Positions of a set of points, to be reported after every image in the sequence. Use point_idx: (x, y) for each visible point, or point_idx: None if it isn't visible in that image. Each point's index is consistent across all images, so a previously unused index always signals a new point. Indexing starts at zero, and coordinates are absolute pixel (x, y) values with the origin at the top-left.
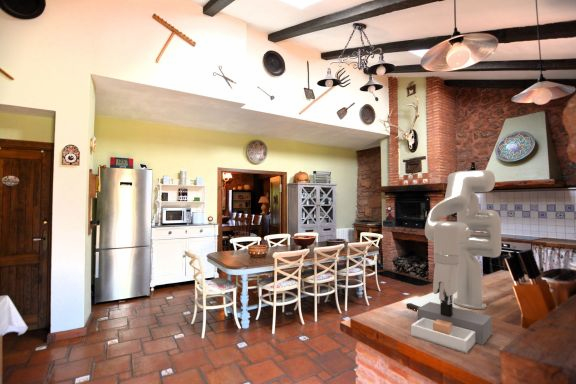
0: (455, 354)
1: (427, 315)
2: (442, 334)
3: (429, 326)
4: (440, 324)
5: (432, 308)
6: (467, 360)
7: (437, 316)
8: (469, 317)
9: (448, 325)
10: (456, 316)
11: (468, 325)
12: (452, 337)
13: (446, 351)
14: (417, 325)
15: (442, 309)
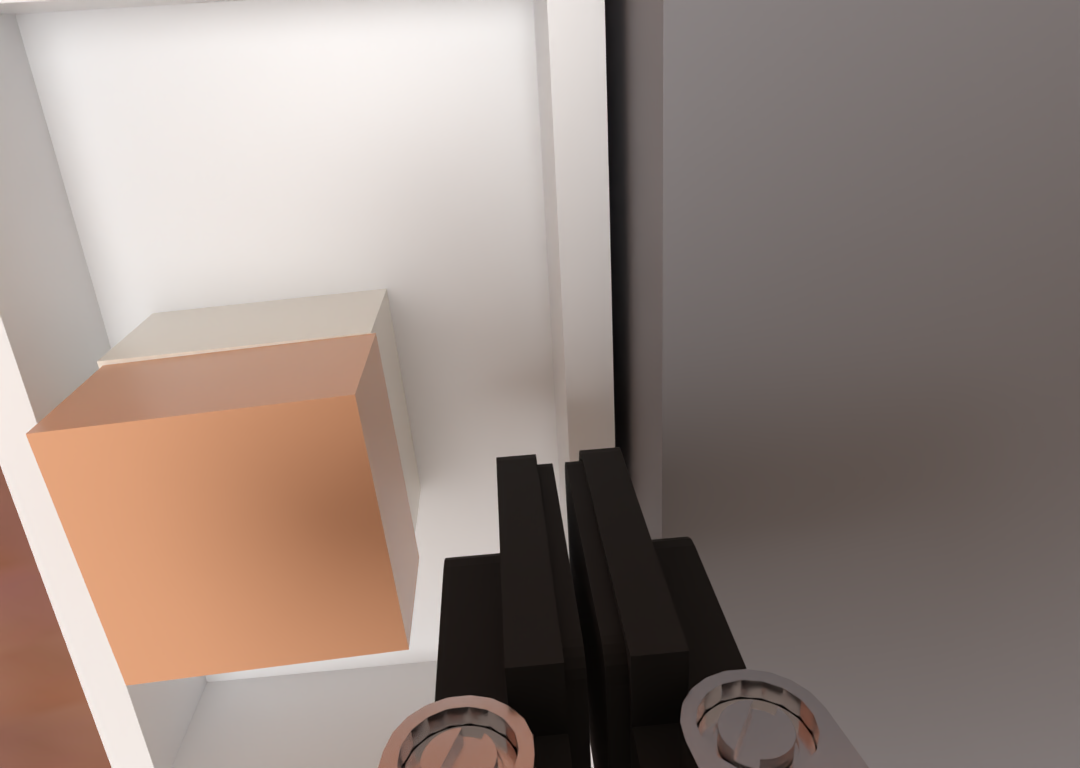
0: (42, 638)
1: (637, 14)
2: (39, 560)
3: (540, 90)
4: (91, 562)
5: (1043, 2)
6: (29, 748)
7: (645, 274)
8: (917, 750)
9: (199, 659)
10: (793, 611)
11: None
12: (81, 683)
13: (10, 553)
14: (106, 1)
15: (445, 607)
